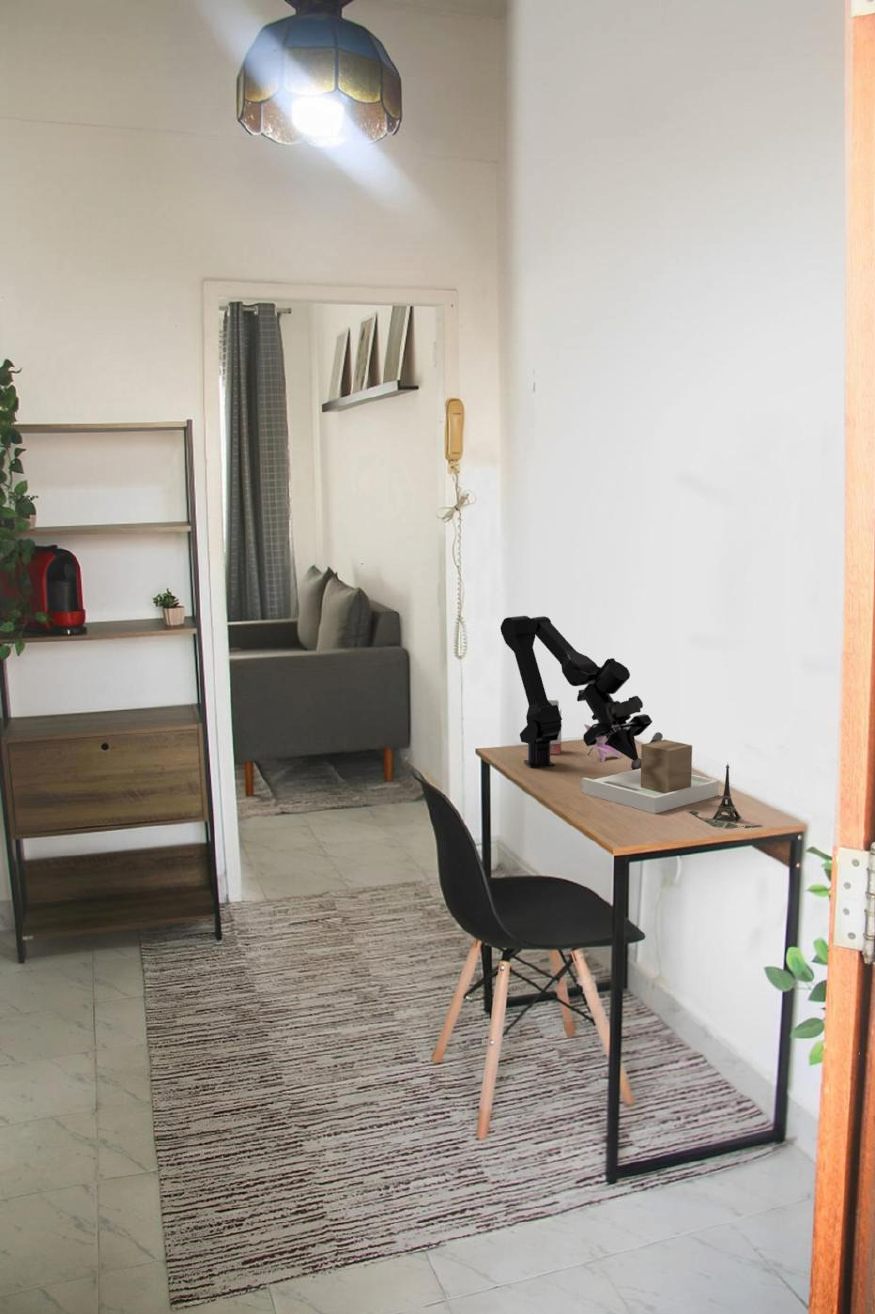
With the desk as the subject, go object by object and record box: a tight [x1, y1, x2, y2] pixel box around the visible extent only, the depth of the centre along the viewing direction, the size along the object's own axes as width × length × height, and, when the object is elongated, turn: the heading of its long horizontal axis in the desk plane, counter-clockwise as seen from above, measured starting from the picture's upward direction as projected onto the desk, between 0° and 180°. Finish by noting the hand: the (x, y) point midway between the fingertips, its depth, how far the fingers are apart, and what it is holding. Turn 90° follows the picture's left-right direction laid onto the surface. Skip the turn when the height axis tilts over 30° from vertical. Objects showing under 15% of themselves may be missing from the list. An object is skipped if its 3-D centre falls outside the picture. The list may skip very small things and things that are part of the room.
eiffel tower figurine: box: [686, 763, 762, 830], centre depth 235 cm, size 15×10×13 cm
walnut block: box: [640, 739, 693, 794], centre depth 250 cm, size 8×8×10 cm
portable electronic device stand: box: [630, 731, 663, 771], centre depth 279 cm, size 9×8×8 cm
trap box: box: [581, 767, 720, 815], centre depth 255 cm, size 22×22×4 cm
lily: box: [583, 721, 622, 763], centre depth 290 cm, size 12×12×10 cm
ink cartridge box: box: [547, 699, 562, 755], centre depth 297 cm, size 9×5×15 cm, turn 76°
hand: (636, 759), depth 257 cm, fingers closed
